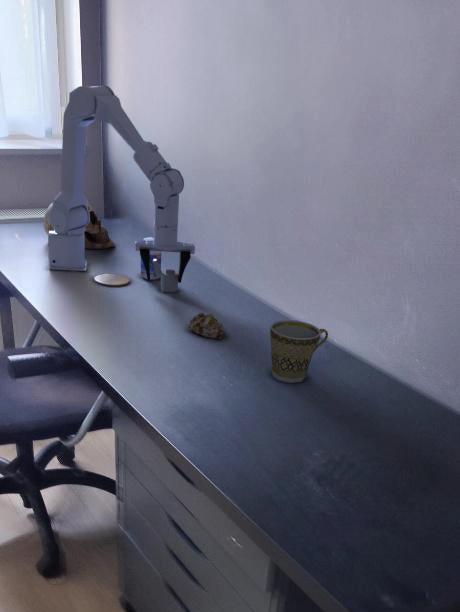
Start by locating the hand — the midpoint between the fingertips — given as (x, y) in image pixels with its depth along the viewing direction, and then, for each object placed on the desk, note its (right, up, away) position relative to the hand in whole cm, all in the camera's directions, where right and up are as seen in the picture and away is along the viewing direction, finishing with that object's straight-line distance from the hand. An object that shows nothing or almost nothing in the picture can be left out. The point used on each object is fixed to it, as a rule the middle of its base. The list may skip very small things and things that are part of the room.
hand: (164, 280), depth 180 cm
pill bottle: (-5, +4, +10) cm, 12 cm away
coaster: (-14, +2, +4) cm, 15 cm away
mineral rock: (+12, -18, -19) cm, 28 cm away
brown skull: (-28, +21, +30) cm, 45 cm away
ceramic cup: (+30, -31, -34) cm, 55 cm away
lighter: (0, -2, +2) cm, 3 cm away
